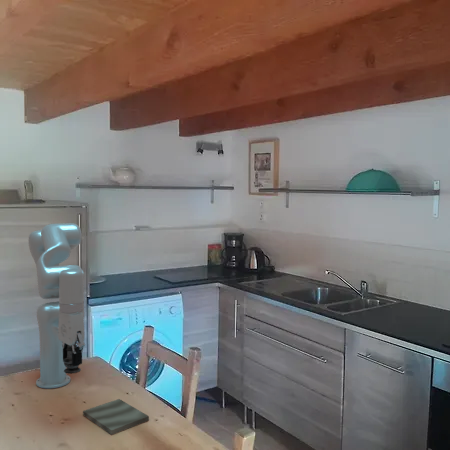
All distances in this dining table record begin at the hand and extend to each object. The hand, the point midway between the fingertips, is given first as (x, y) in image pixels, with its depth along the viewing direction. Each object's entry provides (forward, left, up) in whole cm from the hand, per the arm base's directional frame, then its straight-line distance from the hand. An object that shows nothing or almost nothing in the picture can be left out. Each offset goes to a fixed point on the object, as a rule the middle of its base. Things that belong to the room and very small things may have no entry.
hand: (72, 361), depth 162 cm
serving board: (+8, +11, -20) cm, 24 cm away
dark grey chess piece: (0, 0, -3) cm, 3 cm away
